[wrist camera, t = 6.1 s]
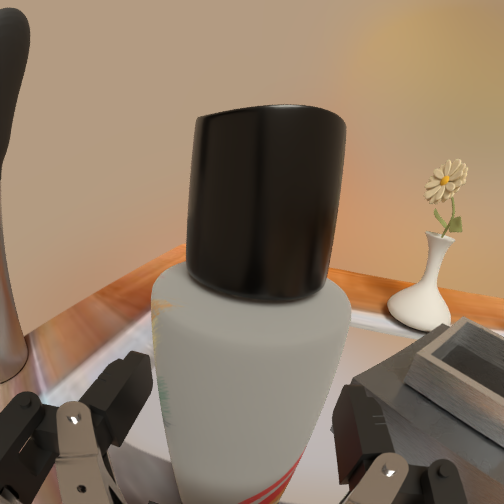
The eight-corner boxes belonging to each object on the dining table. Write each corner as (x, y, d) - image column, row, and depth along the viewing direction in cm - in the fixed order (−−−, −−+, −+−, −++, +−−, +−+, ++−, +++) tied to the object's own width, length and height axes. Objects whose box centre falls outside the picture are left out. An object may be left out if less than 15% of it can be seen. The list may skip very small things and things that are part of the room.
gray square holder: (329, 430, 19) (364, 345, 16) (423, 366, 26) (450, 300, 24) (462, 537, 5) (552, 466, 3) (520, 426, 13) (562, 358, 11)
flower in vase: (384, 300, 45) (411, 155, 38) (440, 312, 41) (471, 171, 34) (384, 335, 34) (424, 143, 27) (455, 350, 29) (502, 167, 22)
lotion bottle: (291, 506, 12) (416, 133, 6) (217, 550, 8) (265, 32, 3) (236, 455, 16) (275, 128, 10) (165, 486, 12) (132, 104, 7)
